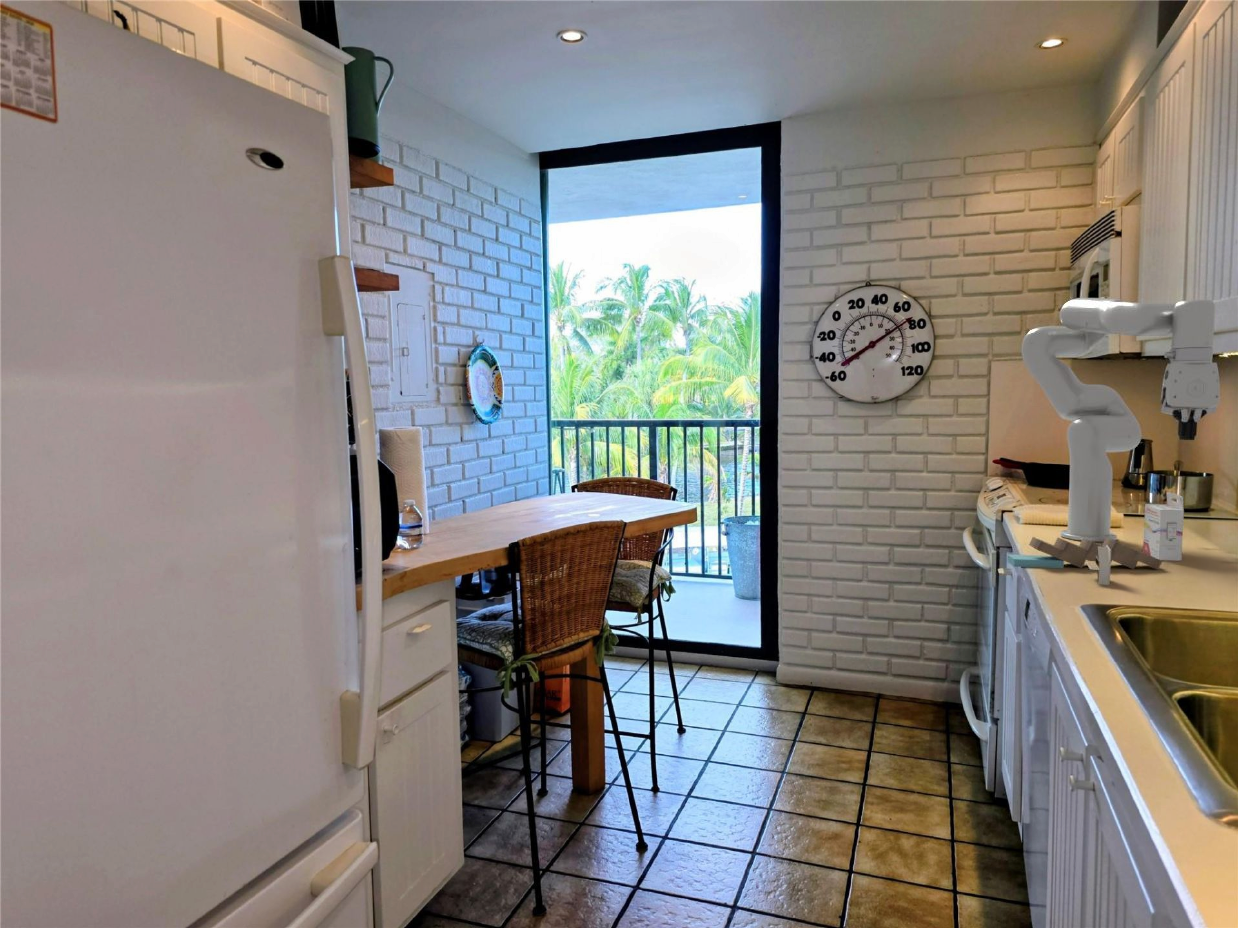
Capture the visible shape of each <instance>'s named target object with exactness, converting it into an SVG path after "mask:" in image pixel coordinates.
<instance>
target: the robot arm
mask: <svg viewBox="0 0 1238 928" xmlns="http://www.w3.org/2000/svg"><path fill="white" fill-rule="evenodd" d="M1215 314H1216V304H1215V302H1214V301H1212V300H1211V299H1189V300H1182V301H1178V302H1177V303H1175V302H1126V301H1125V300H1123V299H1119V298H1105V297H1076V298H1073V299H1071V300H1068V301H1067V302H1066V303H1064V304H1063V306H1062V307H1061V309H1060V311H1059V320H1060V322H1061V324H1062V325H1063V326H1062V325H1049V326H1048V325H1047V326H1039V327H1036V328H1033V329H1031V330H1030V331H1028V332H1027V333H1026V334H1025V336H1024V337H1023V340H1022V344H1021V357H1022V361H1023V364H1024V366H1025V368H1026V369H1027V371H1028V372H1029V374H1030V375H1031V377H1032V378H1033V379H1034V380H1035V382H1037V384H1038V385H1039V386H1040V388H1041V389H1042V391H1043V393H1044V395H1045V397H1046V398H1047V399H1048V401H1049V402H1050V404H1051V405H1052V407H1053V408H1054V410H1055V412H1056V413H1057V414H1058V416H1059V417H1060V418H1061V419H1064V420H1066V421H1071V423H1070V424H1069V425H1068V427H1067V430H1066V440H1067V447H1068V452H1069V485H1068V487H1069V488H1068V489H1069V490H1068V491H1069V492H1068V512H1067V513H1068V514H1067V529H1062V530H1060V536H1061V537H1062V538H1065V539H1069V540H1075V541H1080V542H1081V541H1082V539H1083V538H1085V539H1088V540H1090V541H1092V542H1095V543H1097V542H1098V543H1099V542H1100V543H1101V542H1102V543H1104V541H1105V539H1106V537H1107V538H1109V539H1111V540H1114V541H1117V539H1118V536H1117V534H1116V533H1112V532H1111V518H1112V517H1111V516H1112V498H1113V495H1112V494H1113V467H1112V466H1113V465H1112V463H1111V461H1110V459H1109V457H1108V455H1107V453H1121V452H1122V453H1124V452H1129V451H1132V450H1134V449H1135V448H1136V447H1138V445H1139V444H1140V443H1141V440H1142V429H1141V426H1140V423H1139V421H1138V420H1137V418H1136V417H1135V415H1134V414H1133V413H1132V411H1131V409H1130V408H1129V407H1128V405H1127V404H1126V402H1125V401H1124V400H1123V398H1122V396H1121V395H1120V394H1119V393H1118V392H1117V391H1116V390H1115V389H1114V388H1112V387H1110V386H1107V385H1105V384H1087V383H1083V382H1082V381H1080V379H1079V378H1078V377H1077V376H1076V374H1075V372H1074V370H1072V368H1071V367H1069V366H1068V365H1067V364H1066V363H1064V362H1063V361H1061V360H1059V359H1058V358H1063V359H1064V358H1072V359H1073V358H1080V357H1083V356H1086V355H1087V354H1089V353H1090V352H1091V351H1092V350H1093V349H1094V348H1095V347H1097V346H1098V345H1099V344H1100V343H1101V342H1102V341H1103V340H1104V339H1105V338H1106V337H1107V336H1108V335H1118V336H1120V335H1123V336H1132V337H1171V345H1170V347H1171V348H1170V349H1169V351H1165V352H1164V358H1165V359H1169V362H1170V363H1167V365H1166V367H1165V370H1164V375H1163V379H1162V386H1161V392H1160V404H1161V408H1160V412H1161V413H1162V414H1166V415H1171V416H1172V417H1173V418H1175V421H1176V422H1178V425H1177V426H1178V427H1177V436H1178V437H1179V440H1183V441H1194V440H1195V437H1196V436H1197V432H1198V431H1197V430H1198V429H1197V428H1198V422H1200V421H1201V420H1202V418H1204V416H1205V415H1211V414H1214V413H1216V412H1217V407H1218V406H1219V405H1220V401H1221V400H1220V399H1221V387H1220V382H1221V381H1220V374H1219V369H1218V363H1217V362H1213V357H1214V356H1213V352H1214V334H1215V333H1214V332H1215V317H1216V315H1215ZM1188 409H1189V411H1188Z"/></svg>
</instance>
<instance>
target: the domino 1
mask: <svg viewBox="0 0 1238 928" xmlns="http://www.w3.org/2000/svg"><path fill="white" fill-rule="evenodd" d="M1007 563H1008V564H1010V565H1011V566H1013V567H1017V568H1020V567H1021V568H1022V567H1023V568H1049V569H1052V568H1053V569H1054V568H1056V569H1064V563H1065V561H1063V560H1061V559H1058V558H1056V557H1053V556H1051V555H1039V554H1038V555H1036V554H1035V555H1033V554H1007Z"/></svg>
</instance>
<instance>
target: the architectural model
mask: <svg viewBox="0 0 1238 928" xmlns="http://www.w3.org/2000/svg"><path fill="white" fill-rule="evenodd" d="M1098 555H1099V560H1098V556H1096V561H1088V560H1086V561H1085V563H1086V565H1087V566H1088V568H1089V569H1090V570H1094V571H1095V570H1096V572H1097V573H1096V575H1097V583H1098V585H1103V586H1110V583H1111V581H1110V579H1111V564H1112V562H1111V549H1110V548H1109V547H1108V546H1107V545H1106V547H1098Z"/></svg>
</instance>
